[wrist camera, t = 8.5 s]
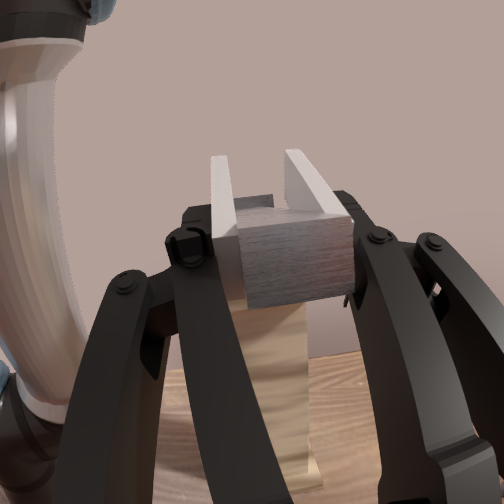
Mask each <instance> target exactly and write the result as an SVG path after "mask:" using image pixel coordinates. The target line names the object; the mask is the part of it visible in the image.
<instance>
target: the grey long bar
mask: <svg viewBox="0 0 504 504" xmlns="http://www.w3.org/2000/svg"><path fill="white" fill-rule="evenodd" d="M233 201H234V208H235V215H236V222H237V223H236V227H237V234H238V242H239V251H240V260H241V269H242V277H243V285H244V290H245V295H246V301H247V306H248V310H254V309H261V308H268V307H275V306H281V305H288V304H294V303H301V302H307V301H312V300H318V299H324V298H330V297H336V296H341V295H347V294H352V293H355V272H354V248H353V232H352V218H351V216H348V215H339V214H331V213H321V212H312V211H303V210H293V209H284V208H274V203H273V195H272V194H270V195H260V196H251V197H243V198H234V199H233Z"/></svg>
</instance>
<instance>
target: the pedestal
mask: <svg viewBox="0 0 504 504" xmlns="http://www.w3.org/2000/svg"><path fill="white" fill-rule="evenodd" d="M244 292H245V290H244ZM227 302H228V306H229V309H230V313H231V316H232V320H233V323H234V327H235V330H236V333H237V337H238V340H239V343H240V347H241V350H242V353H243V357H244V360H245V363H246V366H247V370H248V373H249V376H250V379H251V382H252V386H253V389H254V392H255V395H256V398H257V401H258V404H259V407H260V410H261V413H262V416H263V419H264V422H265V425H266V428H267V431H268V434H269V437H270V440H271V443H272V446H273V449H274V452H275V455H276V458H277V460H278V463H279V466H280V469H281V472H282V474H283V477H284V480H285V483H286V485H287V488H288V491H289V493H290V495H294V494H299V493H304V492H309V491H314V490H318V489H322V488H323V481H322V479H321V476H320V473H319V470H318V467H317V464H316V461H315V458H314V455H313V452H312V450H311V447H310V444H309V377H308V344H307V322H306V321H307V320H306V302H301V303H294V304H288V305H281V306H275V307H268V308H261V309H254V310H248V306H247V301H246V295H245V299H239V300H231V301H227Z"/></svg>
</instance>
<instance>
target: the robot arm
mask: <svg viewBox="0 0 504 504" xmlns="http://www.w3.org/2000/svg"><path fill="white" fill-rule="evenodd" d="M115 4H116V0H0V347H1V349H2V350H3V352H4V354H5V355H6V357H7V358H8V360H9V361H10V362H11V364H12V366H13V367H14V369H15V370H16V373H10V371H9V367H8V366H6V364H5V363H4V362H3V361H2V360H0V485H1V486H2V488H3V490H4V492H5V494H6V496H7V498H8V499H9V501H10V503H11V504H152V496H153V480H154V467H155V455H156V444H157V434H158V425H159V417H160V408H161V400H162V393H163V385H164V378H165V371H166V364H167V358H168V352H169V346H170V340H171V336H172V335H174V334H177V333H179V339H180V347H181V353H182V360H183V367H184V373H185V379H186V385H187V391H188V396H189V402H190V407H191V412H192V417H193V422H194V427H195V432H196V436H197V441H198V445H199V450H200V454H201V458H202V462H203V466H204V470H205V474H206V478H207V482H208V486H209V490H210V493H211V497H212V500H213V504H294V503H293V501H292V498H291V496H290V493H289V491H288V488H287V485H286V483H285V480H284V477H283V474H282V472H281V469H280V466H279V463H278V460H277V458H276V455H275V452H274V449H273V446H272V443H271V440H270V437H269V434H268V431H267V428H266V425H265V422H264V419H263V416H262V413H261V410H260V407H259V404H258V401H257V398H256V395H255V392H254V389H253V386H252V382H251V379H250V376H249V373H248V370H247V366H246V363H245V360H244V357H243V353H242V350H241V347H240V343H239V340H238V337H237V333H236V330H235V327H234V323H233V320H232V316H231V313H230V309H229V306H228V302H227V301H231V300H239V299H245V292H244V285H243V277H242V269H241V260H240V251H239V242H238V234H237V227H236V223H237V222H236V215H235V208H234V201H233V195H232V188H231V181H230V174H229V167H228V160H227V155H221V156H213V157H211V204H209V205H200V206H193V207H188V209H187V210H186V211H185V213H184V214H183V217H182V224H181V227H180V228H177V229H175V230H174V231H172V232H171V233H170V234H169V235H168V236H167V237H166V240H165V246H166V250H167V253H168V256H169V259H170V263H171V266H170V267H169V268H168V269H166V270H165V271H163V272H161V273H158V274H156V275H153V276H150V277H147V276H146V274H145V273H144V272H142V271H140V270H128V271H124V272H122V273H120V274H118V275H117V276H116V277H115V278H113V279H112V280H111V282H110V283H109V285H108V287H107V290H106V292H105V295H104V297H103V300H102V302H101V305H100V308H99V310H98V313H97V315H96V318H95V321H94V324H93V326H92V329H91V332H90V335H88V333H87V330H86V327H85V324H84V321H83V318H82V314H81V311H80V308H79V304H78V300H77V297H76V293H75V289H74V285H73V282H72V277H71V273H70V268H69V264H68V259H67V255H66V250H65V244H64V239H63V234H62V227H61V221H60V214H59V207H58V199H57V189H56V179H55V166H54V146H53V145H54V143H53V110H54V89H55V81H56V79H57V76H58V74H59V72H60V71H61V70H62V69H63V68H64V67H65V66H66V65H67V64H68V63H69V62H70V61H71V60H72V59H73V58H74V57H75V56H76V55H77V54H78V53H79V52H80V51H81V50H82V48H83V41H84V35H85V29H86V25H96V24H97V23H99V22H103V21H105V20H107V19H108V18H109V17H110V15H111V13H112V12H113V9H114V6H115ZM285 200H286V202H287V204H288V206H289V209H293V210H303V211H312V212H321V213H331V214H339V215H348V216H351V218H352V232H353V248H354V272H355V293H352V294H347V295H346V296H345V299H344V307H347V303H348V300H349V302H350V306H351V310H352V313H353V317H354V321H355V325H356V330H357V334H358V338H359V342H360V347H361V351H362V355H363V360H364V365H365V369H366V374H367V379H368V384H369V389H370V394H371V400H372V405H373V411H374V417H375V423H376V429H377V436H378V443H379V450H380V457H381V465H382V475H381V478H380V481H379V484H378V503H379V504H502V499H501V498H504V482H503V483H502V484H501V485H500V481H499V475H500V476H501V477H502V478H503V480H504V306H503V305H502V304H501V302H500V301H499V300H498V298H497V297H496V296H495V295H494V293H493V292H492V291H491V290H490V289H489V287H488V286H487V285H486V284H485V283H484V281H483V280H482V279H481V278H480V277H479V276H478V274H477V273H476V272H475V271H474V270H473V269H472V268H471V266H470V265H469V264H468V263H467V262H466V261H465V260H464V259H463V258H462V257H461V255H460V254H459V253H458V252H457V251H456V250H455V249H454V248H453V247H452V246H451V245H450V244H449V243H448V242H447V241H446V240H445V239H443V238H442V237H440V236H439V235H437V234H434V233H429V232H428V233H422V234H420V235H419V237H418V239H417V242H416V243H407V242H400V241H398V240H397V238H396V236H395V235H394V234H393V233H392V232H391V231H389V230H387V229H385V228H382V227H379V226H375V225H374V223H373V222H372V220H371V219H370V218H369V217H368V215H367V214H366V213H365V211H364V210H362V208H361V206H360V205H359V204H358V202H357V201H356V200H355V199H354V197H352V196H351V195H350V194H348V193H347V192H345V191H343V190H342V191H332V190H331V189H330V187H329V186H328V185H327V183H326V182H325V181H324V179H323V178H322V177H321V175H320V174H319V173H318V172H317V170H316V169H315V168H314V166H313V165H312V164H311V163H310V161H309V160H308V159H307V158H306V157H305V155H304V154H303V152H302V151H301V150H300V149H288V150H285ZM436 283H438V284H439V286H440V287H441V288H442V289H441V291H440V293H439V294H436V293H435V292H434V291H433V289H434V287H435V285H436ZM472 423H473V425H474V427H475V429H476V431H477V433H478V435H479V437H480V438H479V437H478V436H477V435H476V434H475V432H474V429H473V425H472Z"/></svg>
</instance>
